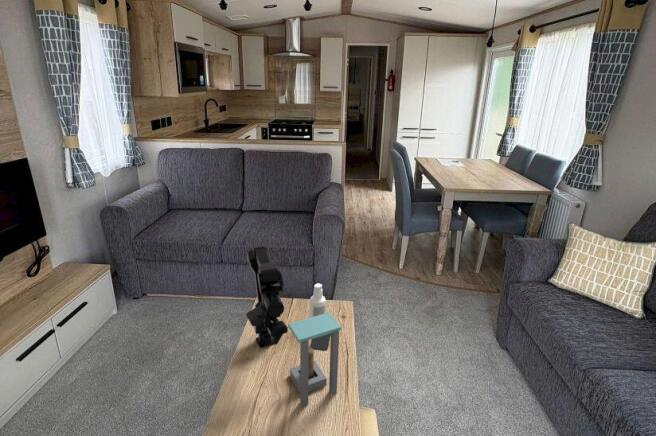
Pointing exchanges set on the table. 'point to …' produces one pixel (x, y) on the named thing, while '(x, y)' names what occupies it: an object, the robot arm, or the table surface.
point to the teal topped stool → (303, 333)
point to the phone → (320, 342)
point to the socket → (313, 383)
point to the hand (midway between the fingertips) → (271, 336)
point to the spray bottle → (317, 301)
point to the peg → (311, 363)
